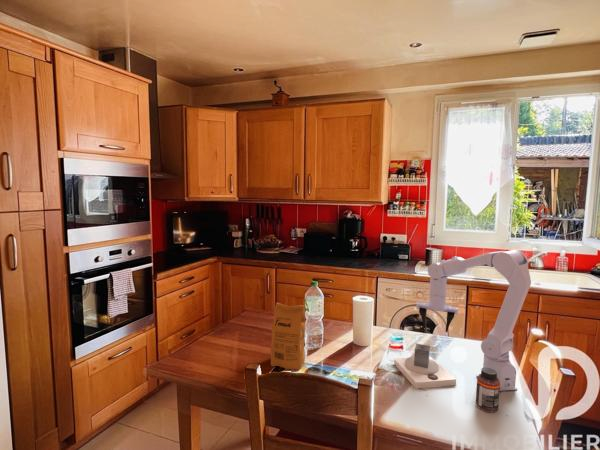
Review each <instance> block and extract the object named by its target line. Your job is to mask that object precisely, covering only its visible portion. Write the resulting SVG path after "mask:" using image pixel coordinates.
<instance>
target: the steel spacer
mask: <svg viewBox="0 0 600 450" xmlns="http://www.w3.org/2000/svg"><path fill="white" fill-rule="evenodd" d="M430 348H431V346H430V345H427V344H421V343H416V344H415V347H414V356H413V357H414V366H419V367H424V368H428V365H429V356H430V353H431V352H430V350H431V349H430Z"/></svg>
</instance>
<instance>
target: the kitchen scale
mask: <svg viewBox="0 0 600 450" xmlns="http://www.w3.org/2000/svg"><path fill="white" fill-rule="evenodd" d="M393 364H394V366H395V365H396V366H395V367H396V368H397V369H398V371H400V372H401V374H402V375H403V376H404V377H405V378H406V380H408V381H409V383H410V384H411V385H412V387H414V389H416V390H417V389H425V388H438V387H449V386H450V387H451V386H456V385H457V378H456V377H455V376H453V375H452V374H451V373H450V372H449V371H448V370H447V369H446V368H444V366H442V365H441V364H440V363H439V362H437V361H436V360H435V359H434V357H432V356H431V355H429V365H428V368H424V367H419V366H414V356H410V357H400V358H399V357H397V358H394V363H393Z"/></svg>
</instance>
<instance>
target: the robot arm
mask: <svg viewBox="0 0 600 450" xmlns="http://www.w3.org/2000/svg"><path fill="white" fill-rule="evenodd" d="M484 265H486V266H488V267H489V268H493V269H495V270H496V271H497V272H498V273H499V274H500V275H502V276H503V277H504V278H505V279H506V281H507V283H508V284H509V285H508V288H507V291H506V293H505V296H504V298H503V302H502V305H500V306H501V307H500V310H499V312H498V315H497V318H496V320H495V323H494V325H493V328H492V329H491V330H490V331H489V332H488V334H487V336H486V338H485V339H483V340H482V341H481V344H480V348H481V351H482V353H483V365H482V368H483V367H489V368H492V369H494V370H496V371H497V378H498V379H499V380H500V392H504V391H513V390H514V391H515V390H518V387H517V386H516V381H517V380H516V379H517V370H516V367H515V366H514V365H513V364H512V363H511V361H510V352H512V350H513V348H514V337H515V334H514V333H513V332H514V329H515V326H516V324H517V321H518V318H519V315H520V313H521V310H522V308H523V306H524V302H525V300H526V297H527V295H528V293H529V290H530V288H531V285H532V280H531V274H530V271H529V270H530V269H529V260H528V257H526V255H525V254H524V253H523V252H522V251H520V250H518V249H510V250H508V251H507V250H499V251H491V252H486V253H483V254H479V255H475V256H472V257H469V258H463V257H461V256H456V255H455V256H452V257H451V258H449V259H447V260H445V259H442V260H441V259H440V261H439V262H433V263H430V264H429V265H428V267H427V274H428V276H429V278H430V280H429V296H428V297H429V298H428V302H421V301H420V302H419V301H417V302H416V306H415V307H416V309H417V310H418V312H419V315H420V317H421V321H422V324H423V329H427V313H428V312H427V310H428V311H429V310H430V311H435V312H442V313H446V323H445V324H446V325H445V333H448V330H449V327H450V325H451V324H452V323H451V322H453V319H454V318H455V315H458V314H459V307H454V306H451V305H446V300H447V299H446V298H447V283H448V282H447V281H448V277H452V276H456V275H457V276H458V275H461V274H464V273H466V272H467V271H468V269H470V268H474V267H480V266H484ZM478 375H479V374H476V378H477V377H478Z"/></svg>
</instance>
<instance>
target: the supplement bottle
mask: <svg viewBox="0 0 600 450" xmlns="http://www.w3.org/2000/svg"><path fill="white" fill-rule="evenodd" d="M477 375H478V377H477V376H476V389H475V390H476V392H475V393H476V394H475V405H476V407H477V408H478V409H480V410H482V411H484V412H488V413H496V412H497V411H498V410H499V407H500V406H499V403H500V393H501V391H500V380H499V379H498V378H497V371H496V370H494V369H492V368H489V367H483V366H482V368H481V370H480V373H479V374H477Z"/></svg>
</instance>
